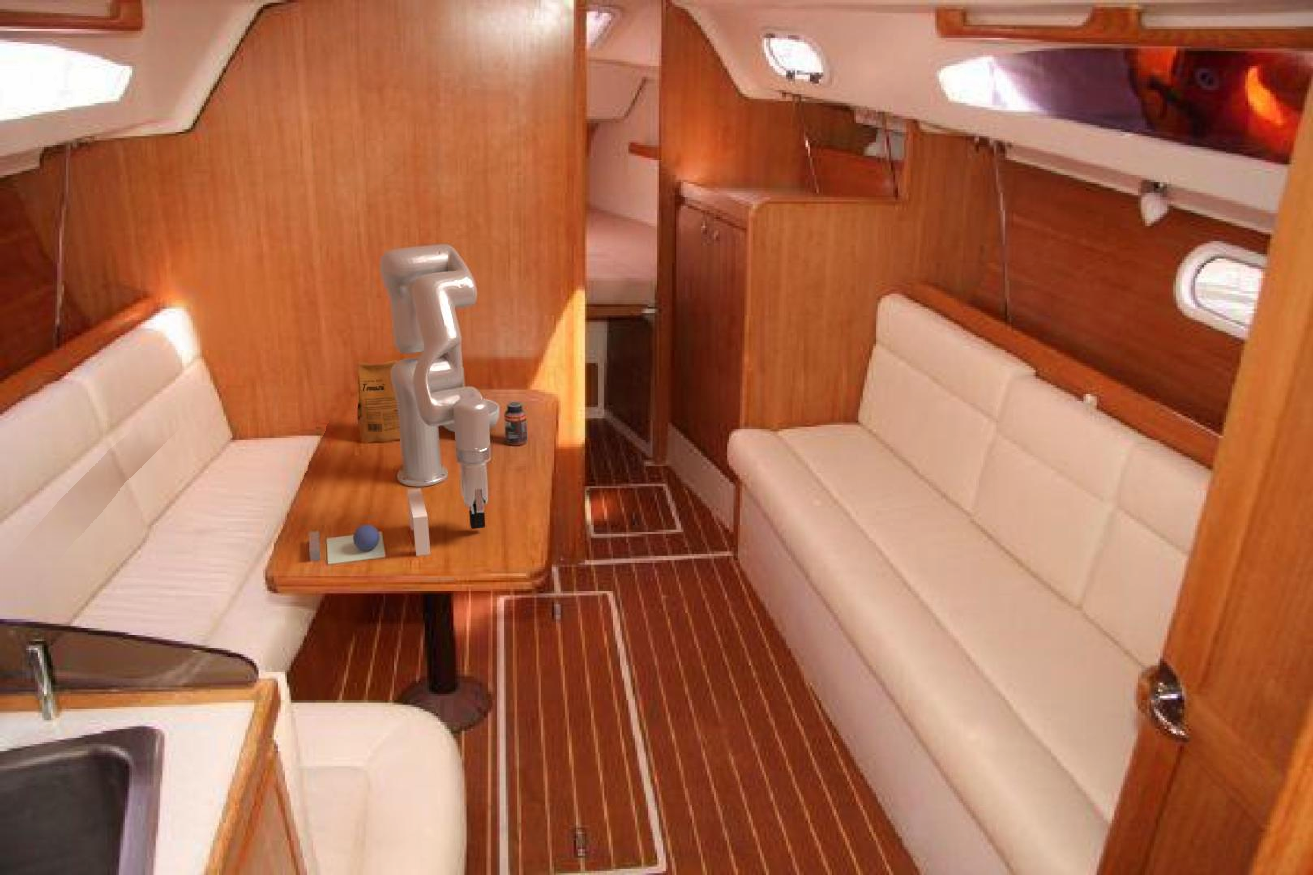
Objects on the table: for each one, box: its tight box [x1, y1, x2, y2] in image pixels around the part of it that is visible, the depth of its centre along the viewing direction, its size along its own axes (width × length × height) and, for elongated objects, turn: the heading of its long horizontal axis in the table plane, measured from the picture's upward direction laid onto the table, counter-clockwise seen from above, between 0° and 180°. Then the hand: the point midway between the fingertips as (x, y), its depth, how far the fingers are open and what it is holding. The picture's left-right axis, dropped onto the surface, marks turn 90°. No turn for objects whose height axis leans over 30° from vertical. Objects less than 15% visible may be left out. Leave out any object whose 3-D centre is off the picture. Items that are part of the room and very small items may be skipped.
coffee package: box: [356, 359, 400, 444], centre depth 285 cm, size 10×12×22 cm
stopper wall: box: [308, 530, 321, 562], centre depth 228 cm, size 9×2×2 cm, turn 18°
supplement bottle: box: [503, 401, 528, 447], centre depth 284 cm, size 6×6×11 cm
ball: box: [352, 524, 380, 551], centre depth 228 cm, size 6×6×6 cm
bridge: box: [406, 488, 431, 557], centre depth 232 cm, size 3×15×9 cm, turn 18°
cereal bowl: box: [442, 398, 500, 433], centre depth 293 cm, size 17×17×7 cm
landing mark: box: [326, 531, 386, 566], centre depth 230 cm, size 12×12×1 cm
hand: (477, 526), depth 237 cm, fingers closed
